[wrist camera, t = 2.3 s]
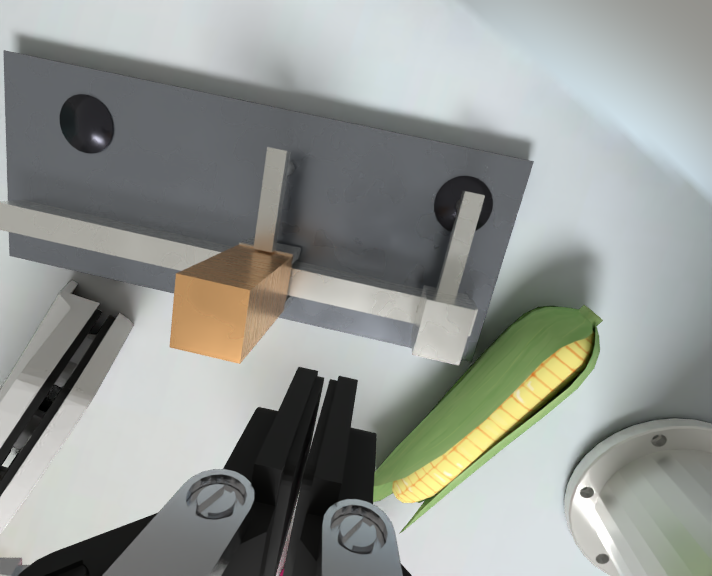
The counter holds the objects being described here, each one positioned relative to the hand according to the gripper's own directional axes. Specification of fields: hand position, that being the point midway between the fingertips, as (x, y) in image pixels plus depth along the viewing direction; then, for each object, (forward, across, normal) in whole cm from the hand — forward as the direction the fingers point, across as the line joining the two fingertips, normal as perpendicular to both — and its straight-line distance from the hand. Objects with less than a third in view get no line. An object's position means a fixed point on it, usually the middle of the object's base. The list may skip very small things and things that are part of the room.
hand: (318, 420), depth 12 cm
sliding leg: (+14, +5, -2) cm, 15 cm away
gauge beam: (+15, +7, -2) cm, 16 cm away
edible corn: (+16, -8, +7) cm, 19 cm away
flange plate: (+15, +7, -3) cm, 17 cm away
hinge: (+16, +19, +13) cm, 28 cm away
